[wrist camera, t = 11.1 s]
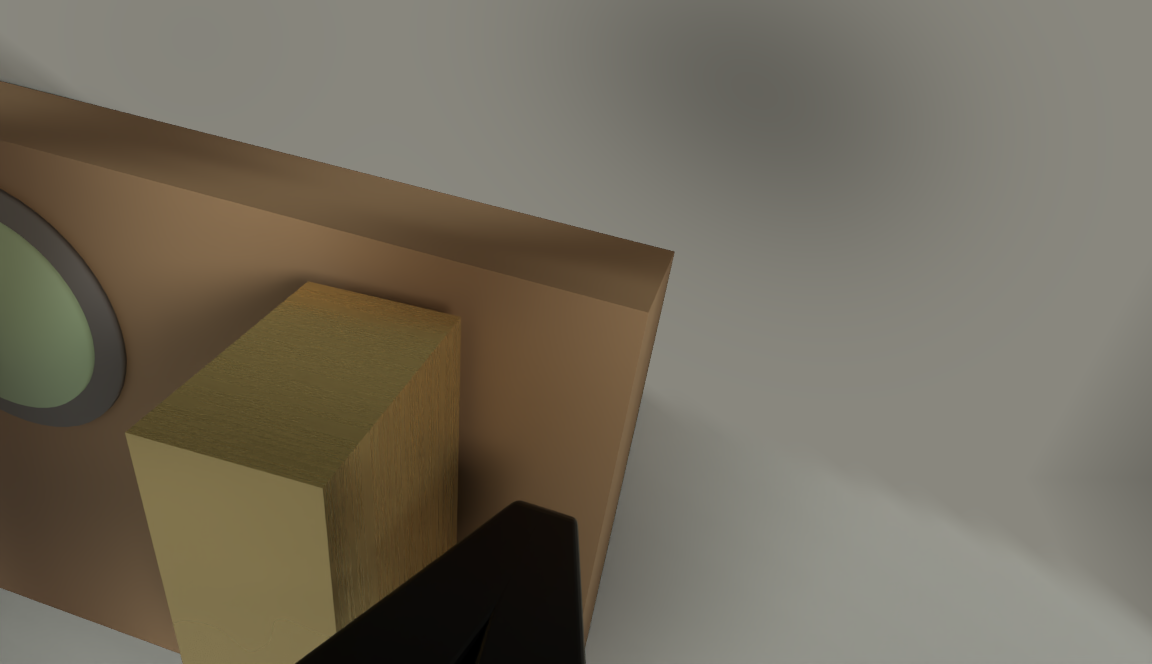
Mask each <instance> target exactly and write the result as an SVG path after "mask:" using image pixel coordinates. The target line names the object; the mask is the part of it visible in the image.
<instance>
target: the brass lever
mask: <svg viewBox="0 0 1152 664" xmlns="http://www.w3.org/2000/svg"><path fill="white" fill-rule="evenodd" d="M460 350H461V317H459V316H455V315H451V314H447V313H442V312H438V311H434V310H429V309H425V308H421V307H416V306H412V305H408V304H403V303H399V302H395V301H391V300H386V299H382V298H378V297H373V296H369V295H365V294H360V293H356V292H352V291H347V290H343V289H339V288H334V287H330V286H326V285H322V284H317V283H313V282H309V281H308V282H307V283H305V284H304V285H303V286H302V287H300V288H299V289H298V290H297V291H296V292H294V293H293V294H292V295H291V296H290V297H288V298H287V299H286V300H285V301H284V302H282V303H281V304H280V305H279V306H277V307H276V308H275V309H274V310H273V311H271V312H270V313H269V314H268V315H267V316H265V317H264V318H263V319H262V320H261V321H259V322H258V323H257V324H256V325H254V326H253V327H252V328H251V329H250V330H248V331H247V332H246V333H245V334H244V335H242V336H241V337H240V338H239V339H238V340H236V341H235V342H234V343H233V344H231V345H230V346H229V347H228V348H227V349H225V350H224V351H223V352H222V353H221V354H219V355H218V356H217V357H216V358H215V359H213V360H212V361H211V362H210V363H208V364H207V365H206V366H205V367H204V368H202V369H201V370H200V371H199V372H198V373H196V374H195V375H194V376H193V377H192V378H190V379H189V380H188V381H187V382H185V383H184V384H183V385H182V386H181V387H179V388H178V389H177V390H176V391H175V392H173V393H172V394H171V395H170V396H169V397H167V398H166V399H165V400H164V401H162V402H161V403H160V404H159V405H158V406H156V407H155V408H154V409H153V410H152V411H150V412H149V413H148V414H147V415H145V416H144V417H143V418H142V419H141V420H139V421H138V422H137V423H136V424H135V425H133V426H132V427H131V428H130V429H129V430H127V431H126V432H125V435H126V439H127V443H128V447H129V451H130V455H131V459H132V463H133V467H134V471H135V475H136V479H137V483H138V487H139V491H140V495H141V499H142V503H143V507H144V511H145V515H146V519H147V523H148V527H149V531H150V535H151V538H152V542H153V546H154V550H155V554H156V558H157V562H158V566H159V570H160V574H161V578H162V582H163V586H164V590H165V594H166V598H167V602H168V606H169V610H170V614H171V618H172V622H173V626H174V630H175V634H176V638H177V642H178V646H179V650H180V654H181V658H182V662H183V664H295V663H296V662H297V661H299V660H300V659H302V658H303V657H304V656H306V655H307V654H308V653H310V652H311V651H312V650H314V649H315V648H316V647H318V646H319V645H320V644H322V643H323V642H324V641H326V640H327V639H329V638H330V637H331V636H333V635H334V634H335V633H337V632H338V631H339V630H341V629H342V628H343V627H345V626H346V625H347V624H349V623H350V622H351V621H353V620H354V619H356V618H357V617H358V616H360V615H361V614H362V613H364V612H365V611H366V610H368V609H369V608H370V607H372V606H373V605H374V604H376V603H377V602H378V601H380V600H381V599H383V598H384V597H385V596H387V595H388V594H389V593H391V592H392V591H393V590H395V589H396V588H397V587H399V586H400V585H401V584H403V583H404V582H405V581H407V580H408V579H410V578H411V577H412V576H414V575H415V574H416V573H418V572H419V571H420V570H422V569H423V568H424V567H426V566H427V565H428V564H430V563H431V562H432V561H434V560H435V559H437V558H438V557H439V556H441V555H442V554H443V553H445V552H446V551H447V550H449V549H450V548H451V547H453V546H454V545H455V544H457V501H458V451H459V400H460Z"/></svg>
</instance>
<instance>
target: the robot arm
mask: <svg viewBox="0 0 1152 664" xmlns="http://www.w3.org/2000/svg"><path fill="white" fill-rule="evenodd" d="M295 664H586V660H585V642H584V624H583V605H582V587H581V569H580V551H579V533H578V522H577V520H576V519H575V518H574V517H572V516H569V515H566V514H563V513H560V512H557V511H554V510H550V509H547V508H544V507H541V506H538V505H535V504H531V503H528V502H525V501H522V500H518V501H514V502H512V503H511V504H509V505H508V506H507V507H505V508H504V509H503V510H501V511H500V512H499V513H497V514H496V515H495V516H493V517H492V518H490V519H489V520H488V521H486V522H485V523H484V524H482V525H481V526H480V527H478V528H477V529H476V530H474V531H473V532H472V533H470V534H469V535H468V536H466V537H465V538H464V539H462V540H461V541H459V542H458V543H457V544H455V545H454V546H453V547H451V548H450V549H449V550H447V551H446V552H445V553H443V554H442V555H441V556H439V557H438V558H437V559H435V560H434V561H432V562H431V563H430V564H428V565H427V566H426V567H424V568H423V569H422V570H420V571H419V572H418V573H416V574H415V575H414V576H412V577H411V578H410V579H408V580H407V581H405V582H404V583H403V584H401V585H400V586H399V587H397V588H396V589H395V590H393V591H392V592H391V593H389V594H388V595H387V596H385V597H384V598H383V599H381V600H380V601H378V602H377V603H376V604H374V605H373V606H372V607H370V608H369V609H368V610H366V611H365V612H364V613H362V614H361V615H360V616H358V617H357V618H356V619H354V620H353V621H351V622H350V623H349V624H347V625H346V626H345V627H343V628H342V629H341V630H339V631H338V632H337V633H335V634H334V635H333V636H331V637H330V638H329V639H327V640H326V641H324V642H323V643H322V644H320V645H319V646H318V647H316V648H315V649H314V650H312V651H311V652H310V653H308V654H307V655H306V656H304V657H303V658H302V659H300V660H299V661H297V662H296V663H295Z"/></svg>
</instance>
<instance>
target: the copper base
mask: <svg viewBox="0 0 1152 664" xmlns="http://www.w3.org/2000/svg"><path fill="white" fill-rule="evenodd" d="M673 257H674V251H670V250H666V249H662V248H658V247H654V246H650V245H646V244H642V243H638V242H634V241H630V240H626V239H622V238H618V237H614V236H610V235H607V234H603V233H599V232H595V231H591V230H587V229H583V228H578V227H575V226H571V225H567V224H563V223H559V222H555V221H551V220H547V219H543V218H539V217H535V216H531V215H528V214H524V213H520V212H515V211H512V210H508V209H504V208H500V207H496V206H492V205H488V204H484V203H480V202H476V201H472V200H468V199H464V198H460V197H456V196H452V195H448V194H444V193H440V192H437V191H432V190H428V189H425V188H420V187H416V186H413V185H409V184H405V183H401V182H397V181H393V180H389V179H385V178H381V177H377V176H373V175H369V174H365V173H361V172H358V171H353V170H350V169H346V168H342V167H338V166H333V165H330V164H326V163H322V162H318V161H314V160H310V159H306V158H302V157H298V156H294V155H290V154H286V153H282V152H278V151H274V150H271V149H266V148H263V147H259V146H254V145H251V144H247V143H242V142H239V141H235V140H231V139H227V138H223V137H219V136H215V135H211V134H207V133H203V132H199V131H195V130H191V129H187V128H184V127H179V126H176V125H172V124H168V123H163V122H160V121H156V120H152V119H148V118H144V117H140V116H136V115H132V114H128V113H124V112H120V111H116V110H112V109H108V108H104V107H101V106H97V105H93V104H89V103H85V102H81V101H77V100H73V99H69V98H65V97H61V96H57V95H53V94H49V93H45V92H41V91H37V90H33V89H29V88H25V87H21V86H18V85H14V84H10V83H6V82H2V81H0V588H3V589H5V590H8V591H11V592H13V593H16V594H19V595H22V596H24V597H27V598H30V599H33V600H35V601H38V602H41V603H43V604H46V605H49V606H52V607H54V608H57V609H60V610H62V611H65V612H68V613H71V614H73V615H76V616H79V617H82V618H84V619H87V620H90V621H92V622H95V623H98V624H101V625H103V626H106V627H109V628H111V629H114V630H117V631H120V632H122V633H125V634H128V635H131V636H133V637H136V638H139V639H141V640H144V641H147V642H150V643H152V644H155V645H158V646H161V647H163V648H166V649H169V650H171V651H174V652H177V653H180V650H179V646H178V642H177V638H176V634H175V630H174V626H173V622H172V618H171V614H170V610H169V606H168V602H167V598H166V594H165V590H164V586H163V582H162V578H161V574H160V570H159V566H158V562H157V558H156V554H155V550H154V546H153V542H152V538H151V535H150V531H149V527H148V523H147V519H146V515H145V511H144V507H143V503H142V499H141V495H140V491H139V487H138V483H137V479H136V475H135V471H134V467H133V463H132V459H131V455H130V451H129V447H128V443H127V439H126V435H125V432H126V431H127V430H129V429H130V428H131V427H132V426H133V425H135V424H136V423H137V422H138V421H139V420H141V419H142V418H143V417H144V416H145V415H147V414H148V413H149V412H150V411H152V410H153V409H154V408H155V407H156V406H158V405H159V404H160V403H161V402H162V401H164V400H165V399H166V398H167V397H169V396H170V395H171V394H172V393H173V392H175V391H176V390H177V389H178V388H179V387H181V386H182V385H183V384H184V383H185V382H187V381H188V380H189V379H190V378H192V377H193V376H194V375H195V374H196V373H198V372H199V371H200V370H201V369H202V368H204V367H205V366H206V365H207V364H208V363H210V362H211V361H212V360H213V359H215V358H216V357H217V356H218V355H219V354H221V353H222V352H223V351H224V350H225V349H227V348H228V347H229V346H230V345H231V344H233V343H234V342H235V341H236V340H238V339H239V338H240V337H241V336H242V335H244V334H245V333H246V332H247V331H248V330H250V329H251V328H252V327H253V326H254V325H256V324H257V323H258V322H259V321H261V320H262V319H263V318H264V317H265V316H267V315H268V314H269V313H270V312H271V311H273V310H274V309H275V308H276V307H277V306H279V305H280V304H281V303H282V302H284V301H285V300H286V299H287V298H288V297H290V296H291V295H292V294H293V293H294V292H296V291H297V290H298V289H299V288H300V287H302V286H303V285H304V284H305V283H307V282H308V281H309V282H313V283H317V284H322V285H326V286H330V287H334V288H339V289H343V290H347V291H352V292H356V293H360V294H365V295H369V296H373V297H378V298H382V299H386V300H391V301H395V302H399V303H403V304H408V305H412V306H416V307H421V308H425V309H429V310H434V311H438V312H442V313H447V314H451V315H455V316H459V317H461V350H460V400H459V451H458V501H457V543H458V542H459V541H461V540H462V539H464V538H465V537H466V536H468V535H469V534H470V533H472V532H473V531H474V530H476V529H477V528H478V527H480V526H481V525H482V524H484V523H485V522H486V521H488V520H489V519H490V518H492V517H493V516H495V515H496V514H497V513H499V512H500V511H501V510H503V509H504V508H505V507H507V506H508V505H509V504H511V503H512V502H514V501H518V500H522V501H525V502H528V503H531V504H535V505H538V506H541V507H544V508H547V509H550V510H554V511H557V512H560V513H563V514H566V515H569V516H572V517H574V518H575V519H576V520H577V522H578V533H579V551H580V569H581V587H582V605H583V624H584V642H585V645H586V641H587V637H588V632H589V628H590V623H591V619H592V615H593V610H594V606H595V601H596V597H597V592H598V588H599V584H600V579H601V575H602V570H603V566H604V562H605V557H606V553H607V548H608V544H609V539H610V535H611V531H612V526H613V522H614V517H615V513H616V509H617V504H618V500H619V495H620V491H621V486H622V482H623V478H624V473H625V469H626V464H627V460H628V456H629V451H630V447H631V442H632V438H633V433H634V429H635V425H636V420H637V416H638V411H639V407H640V403H641V398H642V394H643V389H644V385H645V380H646V376H647V371H648V367H649V363H650V358H651V354H652V350H653V345H654V341H655V336H656V332H657V327H658V323H659V318H660V314H661V309H662V305H663V301H664V297H665V292H666V288H667V283H668V279H669V274H670V270H671V266H672V261H673Z"/></svg>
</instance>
